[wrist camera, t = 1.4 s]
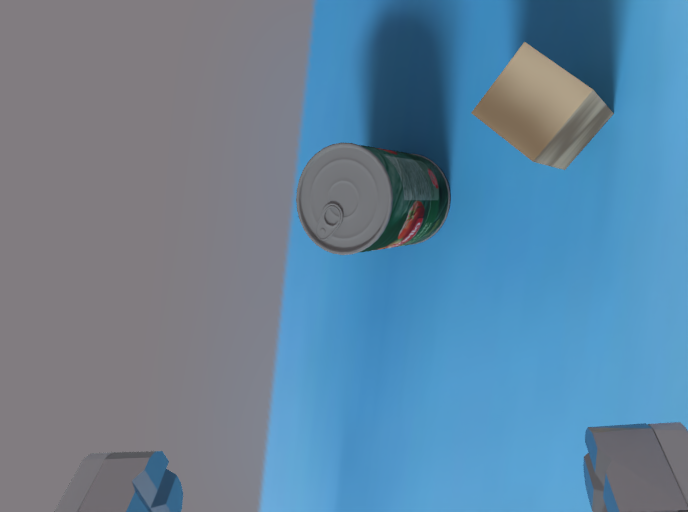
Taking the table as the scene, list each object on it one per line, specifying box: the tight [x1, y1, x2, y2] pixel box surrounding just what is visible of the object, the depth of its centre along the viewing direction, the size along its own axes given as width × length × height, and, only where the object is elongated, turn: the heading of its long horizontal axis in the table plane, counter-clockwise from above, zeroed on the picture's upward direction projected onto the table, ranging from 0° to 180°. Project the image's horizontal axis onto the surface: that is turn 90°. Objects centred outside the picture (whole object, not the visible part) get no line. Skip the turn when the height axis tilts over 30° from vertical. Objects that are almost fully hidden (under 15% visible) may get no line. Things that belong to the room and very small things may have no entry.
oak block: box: [472, 42, 614, 170], centre depth 38 cm, size 5×5×10 cm
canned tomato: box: [296, 143, 450, 255], centre depth 44 cm, size 8×8×11 cm
